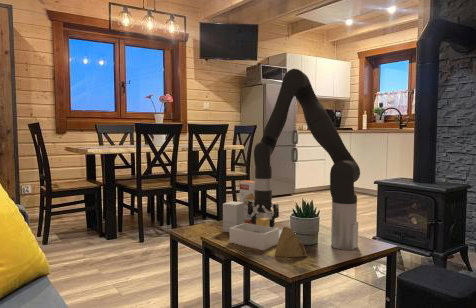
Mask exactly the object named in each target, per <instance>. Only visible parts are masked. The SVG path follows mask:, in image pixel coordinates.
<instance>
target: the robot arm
mask: <svg viewBox="0 0 476 308" xmlns="http://www.w3.org/2000/svg"><path fill="white" fill-rule="evenodd" d="M294 97H295V99H296V100H297V101H298V103H299V105H300V107H301V109H302V113H303V117H304V121H305V123H306V126H307V127H308V129H309V132H310V133H311V135H312V137H313V139H314V140H315V141H316V142H317V143H318V144H319V145H320V146H321V147H322V148H323V150H324V151H325V152H326V153H327V154H328V155H329V157H330V158H331V161H332V162H333V164H332V166H331V168H330V172H329V191H330V195H331V235H330V237H331V238H330V239H331V240H330V241H331V242H330V244H331V245H330V246H331V247H332V248H335V249H338V250H343V251H345V250H348V251H354V250H355V249H356V248H358V246H359V222H358V221H357V220H358V219H357V218H358V217H357V215H358V214H357V212H358V210H357V209H358V196H357V194H356V193H355V182H357V181H358V180H359V179H360V176H361V169H360V167H359V164H358V163H357V162H356V160H355V158H354V157H353V156H352V155H351V153H350V151H349V150H348V149H347V147H346V145H345V144H344V142H343V140H342V138H341V135H340V133H339V131H338V130H337V128H336V126H335V125H334V123H333V120H332V119H331V117H330V115H329V114H328V112H327V110H326V109H325V107H324V106H323V104H322V103H321V102H320V100H319V99H318V97H317V96H316V93H315V91H314V88H313V86H312V84H311V81H310V79H309V77H308V75H307V74H305V73H304V72H303V71H302V70H300V68H291V69H289V70H288V71H287V72H286V73H285V74H284V76H283V79H282V82H281V86H280V89H279V92H278V94H277V99H276V101H275V104H274V107H273V109H272V112H271V114H270V116H269V119H268V120H267V123H266V125H265V127H264V129H263V135H262V137H261V139H260V142H257V143H256V144H255V145H254V148H253V159H254V160H253V161H254V167H255V169H254V181H255V184H254V199H255V202H254V201H253V200H252V201H249V202H248V215H251V216H252V224H255V225H256V219H257V216H256V215H257V213H258V212H263V213H266V214H267V215H268V216H269V218H270V227H273V228H275V226H276V225H275V222H276V221H275V220H276V219H278V218H279V216H280V213H279V208H280V207H279V203H273V202H272V200H273V181H272V178H273V177H272V176H273V175H272V173H273V170H272V166H271V156H272V154H273V153H274V150H275V148H276V145H277V142H278V140H279V138H280V135H281V134H282V132H283V130H284V128H285V125H286V123H287V119H288V114H289V111H290V107H291V104H292V101H293V99H294ZM254 205H255V207H256V208H255V209H254V210H253V206H254Z"/></svg>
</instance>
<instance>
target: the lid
mask: <svg viewBox="0 0 476 308" xmlns="http://www.w3.org/2000/svg"><path fill="white" fill-rule="evenodd" d="M256 225H261V226H267V227H270V219H269V218H262V217H260V218H257V219H256ZM278 229H279V228H278ZM282 230H283V229H279V238H280V234H281V232H282Z"/></svg>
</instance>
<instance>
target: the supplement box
mask: <svg viewBox="0 0 476 308" xmlns="http://www.w3.org/2000/svg"><path fill="white" fill-rule="evenodd" d="M243 223H244V202H240V201H233V200H231V201H230V200H229V201H227V202H224V203H222V232H224V233H230V228H231V227H234V226H237V225H240V224H243Z"/></svg>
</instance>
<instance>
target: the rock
mask: <svg viewBox="0 0 476 308" xmlns="http://www.w3.org/2000/svg"><path fill="white" fill-rule="evenodd" d="M281 230H282V232H281V234H280V238H279V241H278V243H277V245H275V247H276V248H275V251H274V255H273V256H274V257H275V258H276V257H282V258H299V257H301V258H303V257H307V256H308V255H307V250H306V248H305V244H304V243H303V242H302V241H301V240H300V238H299V235H296V233H294V232H295V231H293V230H292V228H291V227H288V226H283V227H282V229H281Z"/></svg>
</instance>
